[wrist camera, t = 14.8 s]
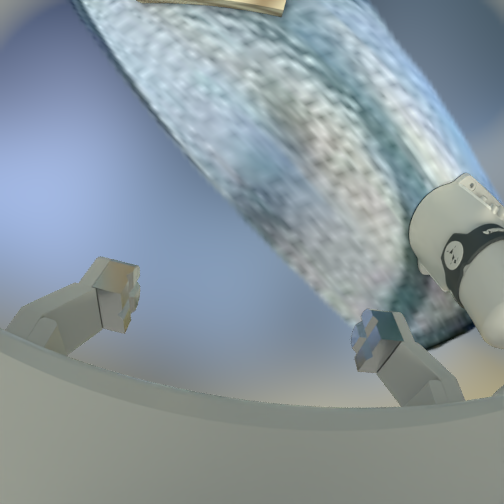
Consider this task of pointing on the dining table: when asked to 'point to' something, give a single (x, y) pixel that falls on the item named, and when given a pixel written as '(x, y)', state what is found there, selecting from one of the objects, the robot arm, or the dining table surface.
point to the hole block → (235, 4)
